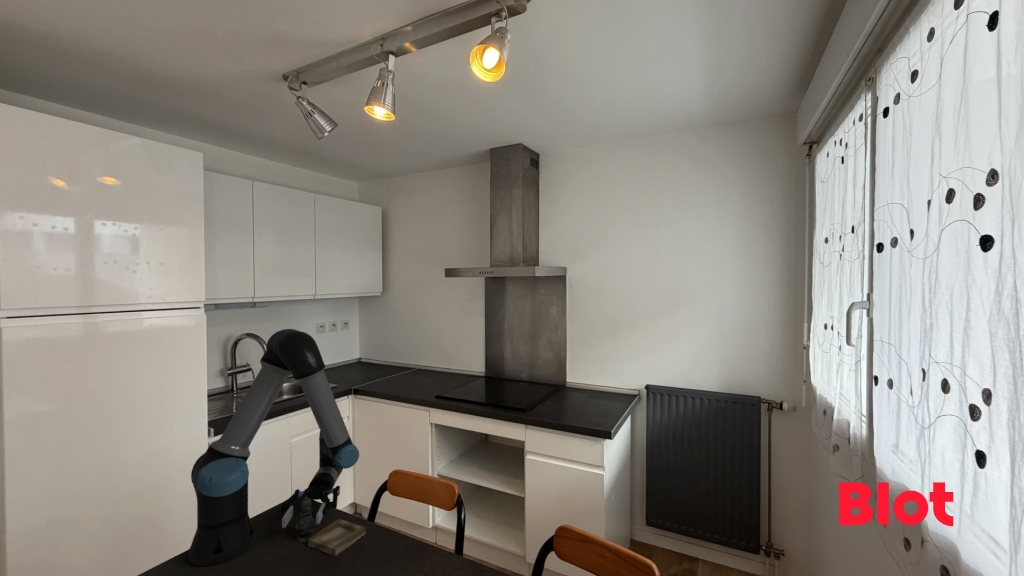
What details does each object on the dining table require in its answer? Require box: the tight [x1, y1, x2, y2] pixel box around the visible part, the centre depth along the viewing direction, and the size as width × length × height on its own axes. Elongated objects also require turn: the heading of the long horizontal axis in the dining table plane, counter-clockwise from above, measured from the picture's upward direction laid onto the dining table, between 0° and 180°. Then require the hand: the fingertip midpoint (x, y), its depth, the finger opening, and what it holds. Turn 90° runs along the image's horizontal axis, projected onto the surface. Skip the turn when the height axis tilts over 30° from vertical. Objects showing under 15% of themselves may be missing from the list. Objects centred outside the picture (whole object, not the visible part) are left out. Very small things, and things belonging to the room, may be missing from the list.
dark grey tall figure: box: [294, 495, 317, 542], centre depth 117 cm, size 6×6×12 cm
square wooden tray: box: [307, 518, 367, 557], centre depth 115 cm, size 11×11×2 cm
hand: (300, 521), depth 112 cm, fingers open, 8 cm apart
